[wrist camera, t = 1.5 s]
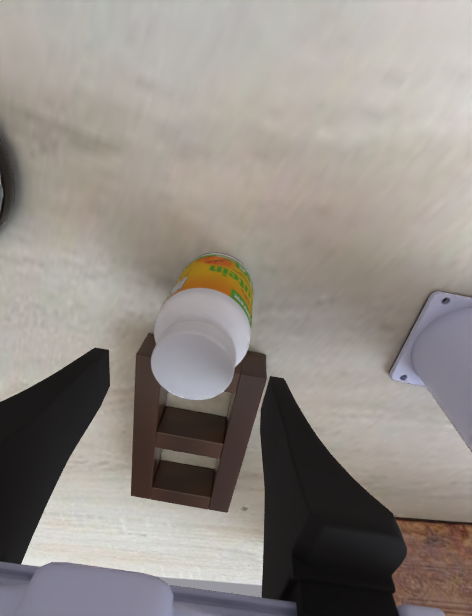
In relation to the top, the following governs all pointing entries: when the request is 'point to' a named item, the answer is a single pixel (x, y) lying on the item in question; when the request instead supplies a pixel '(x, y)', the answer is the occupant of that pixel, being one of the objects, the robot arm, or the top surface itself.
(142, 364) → the hole block
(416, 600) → the book
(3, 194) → the supplement container
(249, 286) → the supplement bottle
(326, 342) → the top surface
